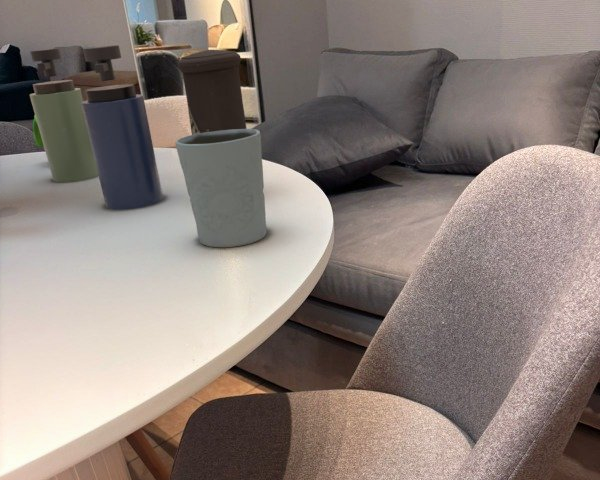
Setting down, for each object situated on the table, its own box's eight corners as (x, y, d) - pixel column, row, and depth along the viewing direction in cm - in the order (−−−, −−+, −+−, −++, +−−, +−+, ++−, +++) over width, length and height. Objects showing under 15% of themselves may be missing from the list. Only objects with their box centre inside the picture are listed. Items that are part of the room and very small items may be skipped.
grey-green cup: (229, 254, 75) (212, 146, 68) (176, 241, 81) (156, 141, 75) (288, 230, 81) (278, 129, 74) (234, 220, 87) (221, 126, 81)
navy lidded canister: (110, 198, 105) (84, 88, 96) (164, 192, 105) (143, 81, 97) (101, 212, 97) (72, 93, 89) (161, 205, 98) (137, 86, 89)
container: (194, 195, 102) (169, 53, 91) (246, 185, 104) (229, 46, 94) (209, 206, 95) (184, 54, 84) (265, 195, 97) (248, 46, 87)
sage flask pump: (40, 76, 117) (33, 50, 114) (68, 73, 117) (61, 47, 115) (29, 80, 110) (22, 52, 108) (59, 77, 110) (52, 49, 108)
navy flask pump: (93, 80, 94) (86, 48, 92) (127, 76, 95) (120, 44, 92) (84, 85, 88) (75, 50, 85) (120, 81, 88) (113, 46, 86)
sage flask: (58, 174, 127) (33, 82, 119) (104, 169, 128) (82, 77, 119) (48, 184, 120) (21, 87, 111) (97, 178, 120) (73, 81, 111)
